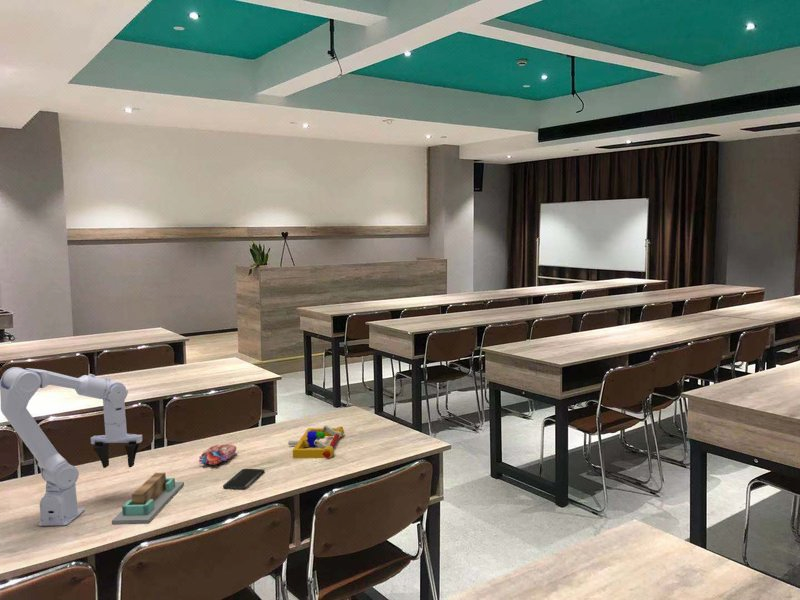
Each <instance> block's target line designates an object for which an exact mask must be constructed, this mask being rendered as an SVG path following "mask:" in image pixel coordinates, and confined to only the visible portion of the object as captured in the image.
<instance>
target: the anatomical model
mask: <svg viewBox="0 0 800 600" xmlns="http://www.w3.org/2000/svg"><path fill="white" fill-rule="evenodd" d="M236 451H237V447H236V445H234V444H229V443H228V444H227V443H226V444H216V445H213V446H210V447H208V448H206V450H204V451H203V452H202V454H201V455H200V456H199V458H198V459H199V460H198V462H200V463H202V464H203V465H206V464H207V465H213V466H215V465H218V464H220V463H222V462H226V461H228V459H230V458H231V457H232V456H234V454H236Z"/></svg>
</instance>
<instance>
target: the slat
mask: <svg viewBox="0 0 800 600" xmlns="http://www.w3.org/2000/svg"><path fill="white" fill-rule="evenodd" d="M166 478H167V475H166V472H155V473H154V474H153V475H151V476H150V477H149V478H148V479H147V480H146V481H144V483H142V485H140V487H139V488H137V489H136V490H135V491H134V492H133V493H132V494H131V500H132V504H133V505H145V504H146V503H147V502H148V501H149V500H150V499H154V501H155V500H156V499H157V498H158V497H159V496H160V495H161V494H162V493H163V492H164V491H165V490H166Z"/></svg>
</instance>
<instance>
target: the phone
mask: <svg viewBox="0 0 800 600" xmlns="http://www.w3.org/2000/svg"><path fill="white" fill-rule="evenodd" d="M264 474H265V469H263V468H262V469H261V468H260V469H259V468H242V469H241V470H240V471H239V472H237V473H236V474H235V475H234V476H232V477H231V478H229V480H228V481H226V482H225V483H224V484H223V485H222V489H223V490H231V489H233V490H235V491H245V490H246V491H247V489H249V488H250V487H251V486H252V485H253V484H254V483H256V481H257V480H259V479H260V478H261V476H263V475H264Z"/></svg>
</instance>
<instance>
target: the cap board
mask: <svg viewBox="0 0 800 600" xmlns="http://www.w3.org/2000/svg"><path fill="white" fill-rule="evenodd" d="M183 485H184V486H185V482H184V481H175V477H166V490H165V491H164V492H163V493H162V494H161V495H160V496H159V497H158V498H157V499H156V500H155V501H154V499H150V500H149V501H148V502H147V503H146V504H145V505H133V504H132V499H128V500H127V502H125V503H124V504H122V507H121V509H122V510H121V511H120V512H119V513H118V514H117V515H116V516H115V517H114V518H113V519H112V520H111V524H112V525H129V524H131V525H133V524H135V525H136V524H138V525H139V524H150V523H151V522H152V521H153V520H154V519H155V517H156V516H157V515H158V514H159V513H160V512H161V511H162V510H163V509H162V508H165V507H166V505H167V504H168V503H169V502H170V501H171V500H172V499H173V498H174V497H175V496H176V495H177V494H178V493H179V491H180V490H181V489H182V488H183V487H184V486H183ZM182 486H183V487H182ZM173 496H174V497H173ZM172 497H173V498H172Z"/></svg>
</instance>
